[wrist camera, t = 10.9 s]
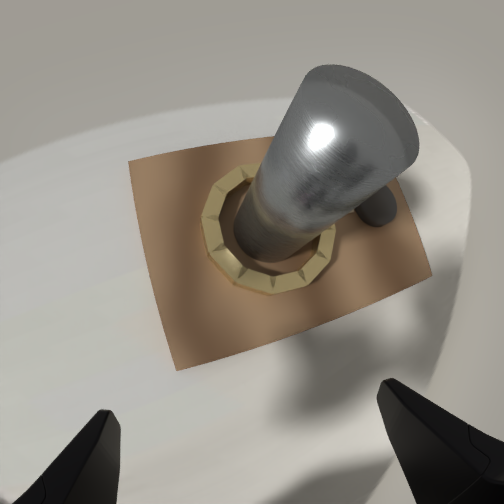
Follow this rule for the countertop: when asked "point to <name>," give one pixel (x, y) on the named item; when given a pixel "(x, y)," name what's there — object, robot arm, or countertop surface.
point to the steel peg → (324, 161)
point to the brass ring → (228, 261)
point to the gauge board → (243, 301)
